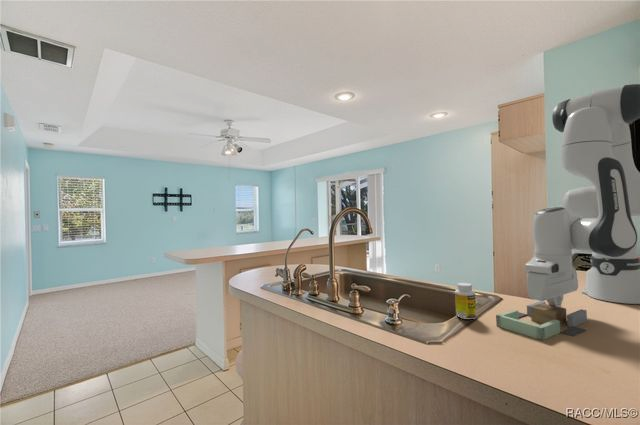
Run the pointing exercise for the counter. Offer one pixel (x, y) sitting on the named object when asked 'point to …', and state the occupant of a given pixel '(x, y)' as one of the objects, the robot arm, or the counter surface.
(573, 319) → the trap channel
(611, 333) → the counter surface
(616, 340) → the counter surface
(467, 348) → the counter surface
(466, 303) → the supplement bottle
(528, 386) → the counter surface
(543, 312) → the walnut block
